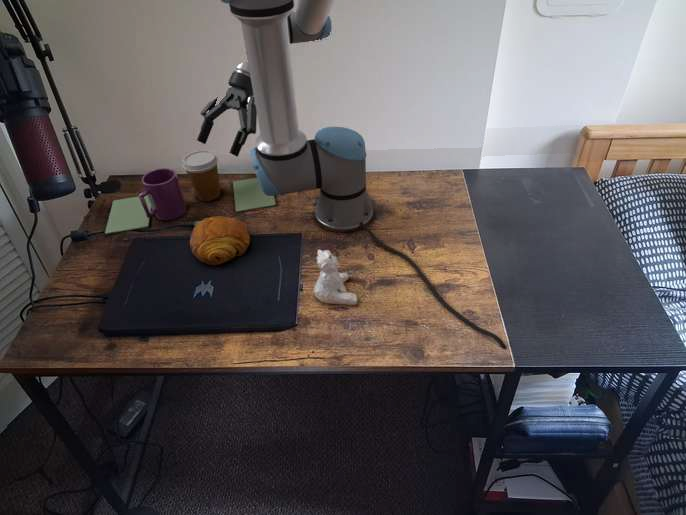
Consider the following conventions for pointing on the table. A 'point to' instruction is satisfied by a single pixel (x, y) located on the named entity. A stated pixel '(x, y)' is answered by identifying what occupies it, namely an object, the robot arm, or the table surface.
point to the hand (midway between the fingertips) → (216, 148)
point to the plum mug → (163, 194)
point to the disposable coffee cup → (203, 174)
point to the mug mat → (127, 215)
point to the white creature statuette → (332, 281)
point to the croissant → (219, 239)
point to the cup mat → (250, 195)
